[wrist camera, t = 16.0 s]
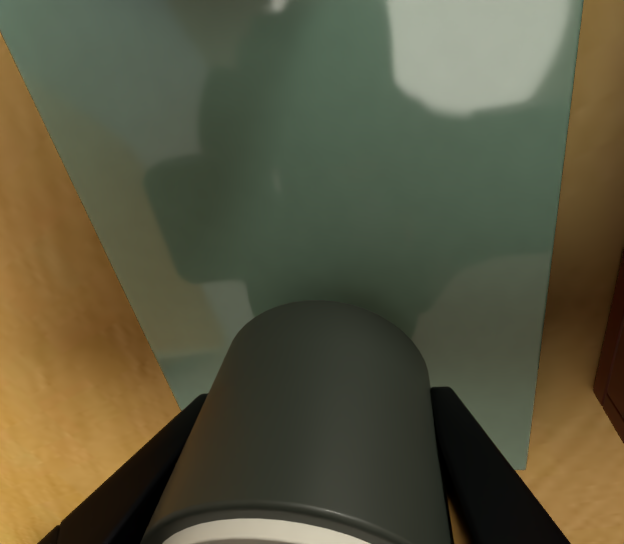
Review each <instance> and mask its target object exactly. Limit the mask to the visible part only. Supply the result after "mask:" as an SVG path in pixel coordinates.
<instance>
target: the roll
mask: <svg viewBox="0 0 624 544" xmlns="http://www.w3.org/2000/svg"><path fill="white" fill-rule="evenodd" d="M430 388H431V386H430V379H429V373H428V369H427V366H426V363H425V360H424V358H423V356H422V355H421V353H420V351H419V349H418V348H417V347H416V345H415V344H414V343H413V341H412V340H411V339H410V338H409V337H408V336H407V335H406V334H405V333H404V332H403V331H402V330H401V329H399V328H398V327H397V326H395V325H394V324H393V323H392V322H390V321H388V320H387V319H385V318H383V317H382V316H380V315H378V314H376V313H374V312H371V311H369V310H367V309H364V308H361V307H358V306H355V305H351V304H347V303H342V302H337V301H327V300H305V301H297V302H291V303H287V304H283V305H279V306H277V307H274V308H272V309H269V310H267V311H265V312H263V313H261V314H260V315H258V316H256V317H254V318H253V319H252V320H251V321H249V322H248V323H247V324H245V325H244V327H243V328H242V329H241V330H240V331H239V332H238V333H237V335H236V336H235V338H234V339H233V341H232V343H231V345H230V347H229V349H228V351H227V354H226V356H225V358H224V360H223V362H222V365H221V367H220V369H219V371H218V373H217V376H216V378H215V380H214V382H213V384H212V386H211V389H210V391H209V393H208V395H207V397H206V400H205V402H204V404H203V406H202V408H201V411H200V413H199V415H198V417H197V419H196V422H195V424H194V426H193V428H192V430H191V432H190V435H189V437H188V439H187V441H186V443H185V446H184V448H183V450H182V452H181V454H180V457H179V459H178V461H177V463H176V465H175V468H174V470H173V472H172V474H171V476H170V478H169V481H168V483H167V485H166V487H165V489H164V492H163V494H162V496H161V498H160V500H159V503H158V505H157V507H156V509H155V511H154V514H153V516H152V518H151V520H150V522H149V524H148V527H147V529H146V531H145V533H144V536H143V538H142V540H141V543H140V544H454V538H453V532H452V525H451V519H450V512H449V505H448V499H447V492H446V485H445V479H444V472H443V466H442V462H441V457H440V452H439V447H438V441H437V435H436V428H435V421H434V414H433V408H432V401H431V394H430Z"/></svg>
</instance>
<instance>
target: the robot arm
mask: <svg viewBox="0 0 624 544" xmlns="http://www.w3.org/2000/svg"><path fill="white" fill-rule="evenodd" d="M430 394H431V401H432V408H433V414H434V421H435V428H436V435H437V441H438V447H439V452H440V457H441V462H442V466H443V472H444V479H445V485H446V492H447V499H448V505H449V512H450V519H451V525H452V532H453V538H454V544H571V543H570V542H569V541H568V539H567V538H566V537H565V535H564V534H563V533H562V531H561V530H560V529H559V528H558V526H557V525H556V524H555V522H554V521H553V520H552V518H551V517H550V516H549V514H548V513H547V512H546V511H545V509H544V508H543V507H542V505H541V504H540V503H539V501H538V500H537V499H536V497H535V496H534V495H533V494H532V492H531V491H530V490H529V488H528V487H527V486H526V484H525V483H524V482H523V481H522V479H521V478H520V477H519V475H518V474H517V473H516V471H515V470H514V469H513V467H512V466H511V465H510V464H509V462H508V461H507V460H506V458H505V457H504V456H503V454H502V453H501V452H500V450H499V449H498V448H497V447H496V445H495V444H494V443H493V441H492V440H491V439H490V437H489V436H488V435H487V433H486V432H485V431H484V430H483V428H482V427H481V426H480V424H479V423H478V422H477V420H476V419H475V418H474V416H473V415H472V414H471V413H470V411H469V410H468V409H467V407H466V406H465V405H464V403H463V402H462V401H461V399H460V398H459V397H458V396H457V394H456V393H455V392H454V390H453V389H452V388H451V387H448V386H445V387H431V388H430ZM207 395H208V393H203V394H200V395H199V396H198V397H196V398H195V399H194V400H193V401H192V402H191V403H190V404H189V405H188V406H187V407H186V408H184V409H183V410H182V411H181V412H180V413H179V414H178V415H177V416H176V417H175V418H174V419H172V420H171V421H170V422H169V423H168V424H167V425H166V426H165V427H164V428H163V429H162V430H161V431H159V432H158V433H157V434H156V435H155V436H154V437H153V438H152V439H151V440H150V441H149V442H147V443H146V444H145V445H144V446H143V447H142V448H141V449H140V450H139V451H138V452H137V453H135V454H134V455H133V456H132V457H131V458H130V459H129V460H128V461H127V462H126V463H125V464H123V465H122V466H121V467H120V468H119V469H118V470H117V471H116V472H115V473H114V474H113V475H112V476H110V477H109V478H108V479H107V480H106V481H105V482H104V483H103V484H102V485H101V486H100V487H98V488H97V489H96V490H95V491H94V492H93V493H92V494H91V495H90V496H89V497H88V498H86V499H85V500H84V501H83V502H82V503H81V504H80V505H79V506H78V507H77V508H76V509H75V510H73V511H72V512H71V513H70V514H69V515H68V516H67V517H66V518H65V519H64V520H63V521H62V522H61V524H60V525H57V526H56V527H55V528H54V529H53V530H51V531H50V532H49V533H48V534H47V535H46V536H45V537H44V538H43V539H42V540H41V541H40V542H38V543H37V544H140V543H141V540H142V538H143V536H144V533H145V531H146V529H147V527H148V524H149V522H150V520H151V518H152V516H153V514H154V511H155V509H156V507H157V505H158V503H159V500H160V498H161V496H162V494H163V492H164V489H165V487H166V485H167V483H168V481H169V478H170V476H171V474H172V472H173V470H174V468H175V465H176V463H177V461H178V459H179V457H180V454H181V452H182V450H183V448H184V446H185V443H186V441H187V439H188V437H189V435H190V432H191V430H192V428H193V426H194V424H195V422H196V419H197V417H198V415H199V413H200V411H201V408H202V406H203V404H204V402H205V400H206V397H207Z"/></svg>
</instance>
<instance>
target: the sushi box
mask: <svg viewBox="0 0 624 544" xmlns="http://www.w3.org/2000/svg"><path fill="white" fill-rule="evenodd" d="M593 392H594V394H595V395H596V397H597V399H598V400H599V402H600V404H601V405H602V406H603V409H604V411H605V413H606V415H607V416H608V418H609V420H610V421H611V423H612V425H613V426H614V428H615V430H616V431H617V433H618V435H619V436H620V438H621V440H622V441H623V443H624V251H623V255H622V260H621V264H620V269H619V274H618V278H617V283H616V287H615V292H614V297H613V301H612V306H611V310H610V315H609V320H608V324H607V329H606V333H605V338H604V343H603V347H602V352H601V356H600V361H599V366H598V370H597V375H596V379H595V384H594V389H593Z"/></svg>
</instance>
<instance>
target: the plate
mask: <svg viewBox="0 0 624 544" xmlns="http://www.w3.org/2000/svg"><path fill="white" fill-rule="evenodd" d="M583 2H584V0H0V32H1V34H2V36H3V38H4V40H5V43H6V45H7V47H8V49H9V51H10V53H11V55H12V57H13V59H14V61H15V64H16V66H17V68H18V70H19V72H20V74H21V76H22V78H23V80H24V82H25V85H26V87H27V89H28V91H29V93H30V95H31V97H32V99H33V101H34V103H35V106H36V108H37V110H38V112H39V114H40V116H41V118H42V120H43V122H44V124H45V127H46V129H47V131H48V133H49V135H50V137H51V139H52V141H53V143H54V145H55V148H56V150H57V152H58V154H59V156H60V158H61V160H62V162H63V164H64V166H65V169H66V171H67V173H68V175H69V177H70V179H71V181H72V183H73V185H74V187H75V190H76V192H77V194H78V196H79V198H80V200H81V202H82V204H83V206H84V208H85V211H86V213H87V215H88V217H89V219H90V221H91V223H92V225H93V227H94V229H95V232H96V234H97V236H98V238H99V240H100V242H101V244H102V246H103V248H104V250H105V253H106V255H107V257H108V259H109V261H110V263H111V265H112V267H113V269H114V271H115V273H116V276H117V278H118V280H119V282H120V284H121V286H122V288H123V290H124V292H125V294H126V297H127V299H128V301H129V303H130V305H131V307H132V309H133V311H134V313H135V315H136V318H137V320H138V322H139V324H140V326H141V328H142V330H143V332H144V334H145V336H146V339H147V341H148V343H149V345H150V347H151V349H152V351H153V353H154V355H155V357H156V360H157V362H158V364H159V366H160V368H161V370H162V372H163V374H164V376H165V378H166V381H167V383H168V385H169V387H170V389H171V391H172V393H173V395H174V397H175V399H176V402H177V404H178V406H179V408H180V410H181V411H182V410H183V409H184V408H186V407H187V406H188V405H189V404H190V403H191V402H192V401H193V400H194V399H195V398H196V397H198V396H199V395H200V394H203V393H209V391H210V389H211V386H212V384H213V382H214V380H215V378H216V376H217V373H218V371H219V369H220V367H221V365H222V362H223V360H224V358H225V356H226V354H227V351H228V349H229V347H230V345H231V343H232V341H233V339H234V338H235V336H236V335H237V333H238V332H239V331H240V330H241V329H242V328H243V327H244V325H245V324H247V323H248V322H249V321H251V320H252V319H253V318H254V317H256V316H258V315H260V314H261V313H263V312H265V311H267V310H269V309H272V308H274V307H277V306H279V305H283V304H287V303H291V302H297V301H305V300H327V301H337V302H342V303H347V304H351V305H355V306H358V307H361V308H364V309H367V310H369V311H371V312H374V313H376V314H378V315H380V316H382V317H383V318H385V319H387V320H388V321H390V322H392V323H393V324H394V325H395V326H397V327H398V328H399V329H401V330H402V331H403V332H404V333H405V334H406V335H407V336H408V337H409V338H410V339H411V340H412V341H413V343H414V344H415V345H416V347H417V348H418V349H419V351H420V353H421V355H422V356H423V358H424V360H425V363H426V366H427V369H428V373H429V379H430V386H431V387H445V386H448V387H451V388H452V389H453V390H454V392H455V393H456V394H457V396H458V397H459V398H460V399H461V401H462V402H463V403H464V405H465V406H466V407H467V409H468V410H469V411H470V413H471V414H472V415H473V416H474V418H475V419H476V420H477V422H478V423H479V424H480V426H481V427H482V428H483V430H484V431H485V432H486V433H487V435H488V436H489V437H490V439H491V440H492V441H493V443H494V444H495V445H496V447H497V448H498V449H499V450H500V452H501V453H502V454H503V456H504V457H505V458H506V460H507V461H508V462H509V464H510V465H511V466H512V467H513V469H514V470H526V465H527V457H528V449H529V441H530V433H531V425H532V417H533V408H534V400H535V392H536V384H537V376H538V368H539V360H540V352H541V343H542V335H543V327H544V319H545V311H546V303H547V295H548V287H549V278H550V270H551V262H552V254H553V246H554V238H555V230H556V222H557V213H558V205H559V197H560V189H561V181H562V173H563V165H564V157H565V148H566V140H567V132H568V124H569V116H570V108H571V100H572V92H573V83H574V75H575V67H576V59H577V51H578V43H579V35H580V26H581V18H582V10H583Z"/></svg>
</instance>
